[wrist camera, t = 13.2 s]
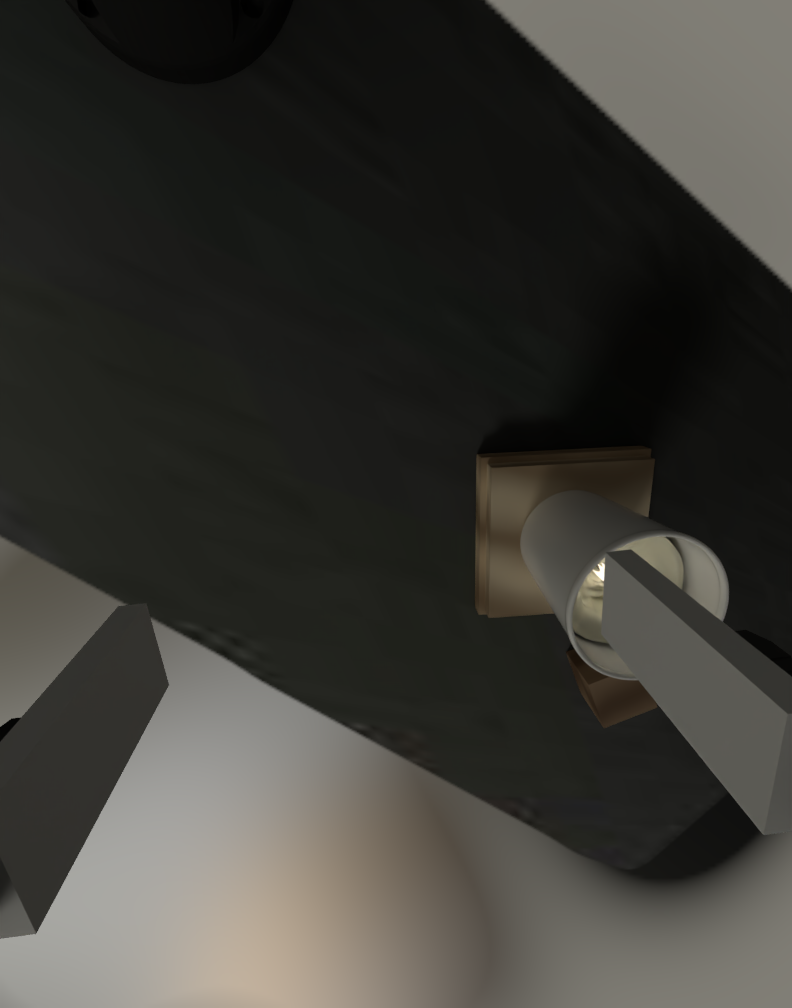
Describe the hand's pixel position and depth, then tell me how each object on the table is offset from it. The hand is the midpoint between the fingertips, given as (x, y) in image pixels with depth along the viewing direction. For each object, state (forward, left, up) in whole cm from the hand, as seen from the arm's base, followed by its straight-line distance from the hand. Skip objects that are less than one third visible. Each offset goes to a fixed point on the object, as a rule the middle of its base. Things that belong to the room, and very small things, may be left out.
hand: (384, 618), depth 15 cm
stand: (+8, +16, -28) cm, 33 cm away
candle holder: (+8, +16, -25) cm, 31 cm away
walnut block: (+22, +21, -28) cm, 41 cm away
